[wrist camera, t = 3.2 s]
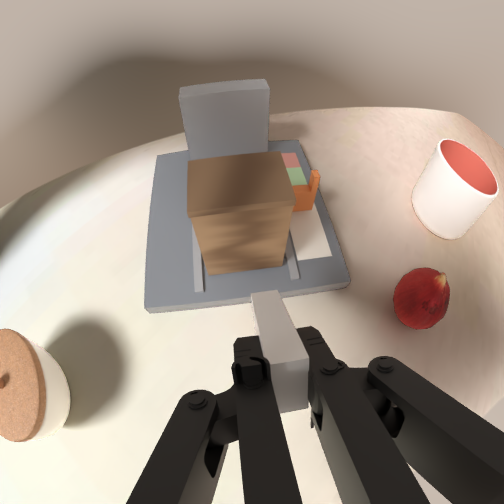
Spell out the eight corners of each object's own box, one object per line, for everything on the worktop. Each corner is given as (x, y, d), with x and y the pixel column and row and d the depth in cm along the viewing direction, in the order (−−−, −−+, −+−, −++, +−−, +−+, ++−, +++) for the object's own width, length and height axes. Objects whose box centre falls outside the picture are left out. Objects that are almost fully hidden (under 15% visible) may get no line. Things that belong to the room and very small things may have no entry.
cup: (464, 253, 29) (506, 209, 20) (407, 227, 31) (442, 173, 22) (459, 203, 34) (489, 159, 25) (408, 178, 36) (433, 128, 27)
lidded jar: (45, 452, 17) (-13, 453, 8) (12, 372, 21) (-42, 352, 13) (104, 418, 20) (44, 418, 12) (63, 332, 24) (8, 300, 16)
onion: (433, 321, 25) (477, 292, 18) (398, 347, 24) (443, 324, 17) (408, 278, 27) (444, 240, 20) (371, 300, 26) (407, 264, 19)
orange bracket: (209, 221, 28) (202, 188, 24) (208, 213, 29) (202, 180, 25) (311, 209, 29) (320, 177, 25) (309, 202, 30) (317, 169, 25)
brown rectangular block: (207, 276, 26) (186, 212, 17) (204, 231, 28) (187, 160, 20) (283, 266, 26) (296, 199, 18) (273, 222, 29) (280, 150, 20)
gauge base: (149, 313, 26) (94, 255, 16) (159, 163, 37) (139, 95, 27) (346, 287, 27) (392, 219, 17) (296, 148, 38) (305, 78, 28)
